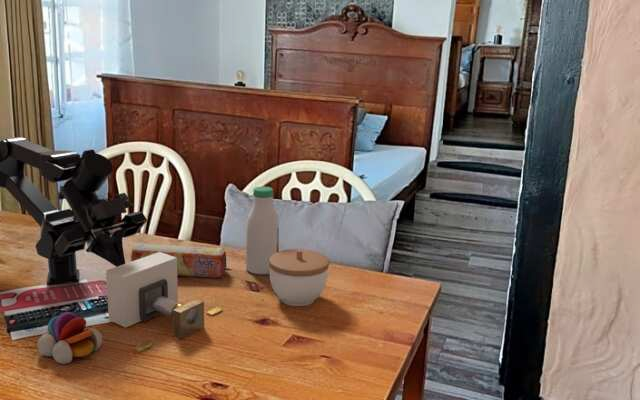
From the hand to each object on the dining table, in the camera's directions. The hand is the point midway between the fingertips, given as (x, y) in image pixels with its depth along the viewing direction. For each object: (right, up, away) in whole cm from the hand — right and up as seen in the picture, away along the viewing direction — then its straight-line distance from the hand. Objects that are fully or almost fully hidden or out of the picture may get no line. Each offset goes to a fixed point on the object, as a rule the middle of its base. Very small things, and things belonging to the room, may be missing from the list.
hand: (123, 267), depth 120 cm
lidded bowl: (+35, -8, +8) cm, 37 cm away
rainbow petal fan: (-4, -13, -16) cm, 21 cm away
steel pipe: (+8, -10, -3) cm, 13 cm away
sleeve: (+4, -9, -1) cm, 10 cm away
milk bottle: (+25, -3, +24) cm, 35 cm away
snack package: (+7, -4, +20) cm, 21 cm away
